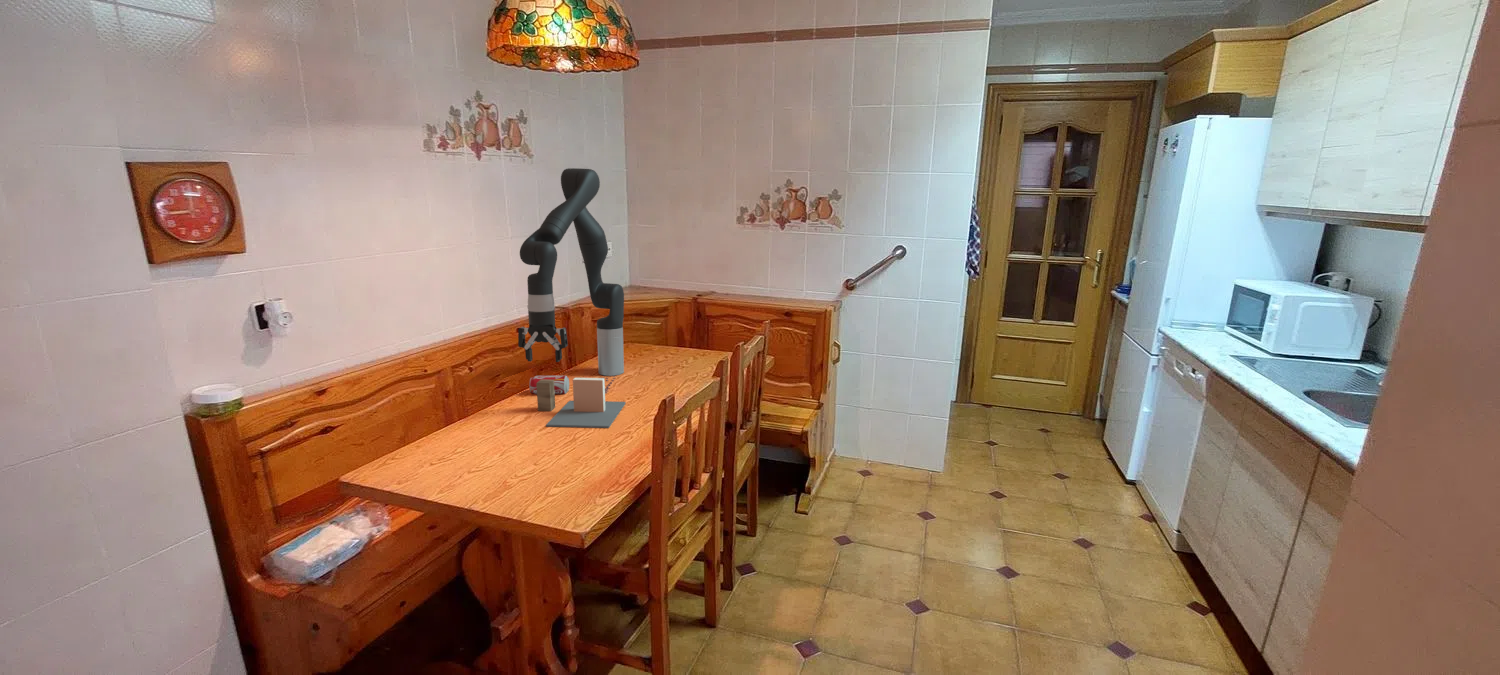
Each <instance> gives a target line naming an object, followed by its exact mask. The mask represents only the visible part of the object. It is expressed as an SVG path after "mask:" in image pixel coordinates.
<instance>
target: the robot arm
mask: <svg viewBox="0 0 1500 675" xmlns="http://www.w3.org/2000/svg"><path fill="white" fill-rule="evenodd" d="M600 183H601V181H600V176H599V175H598V173H597V172H596V171H595V170H594V169H591V168H579V167H578V168H573V167H572V168H571V167H568V168H565V169H564V170H562V172H561V175H560V186H561V191H562V193H563V196H564V199H565V201H563V202H562V203H560V204H559V205H558V206H555V208H553V209H552V210H551V211H550V212H549V213H547V216H546V217H545V219H544V221H543V222H542V223H541V225H540V226H539V228H538V229H536V230H535V231H534V232H533V233H532V234H530V235H529V236H528V237H526V239H525V240H524V241H523V242H522V244H521V246H520V247H519V248H520V249H519V257H520V259H521V261H522V262H523V263H524V264H525V265H529V266H538V271H537V272H535V273H531V274H529V275H528V277H527V314H528V315H527V316H528V327H525V326H521V327H519V328H518V330H517V331H518V332H517V333H518V335H517V337H518V338H517V341H518V345H517V346H518V347H519V348H522V349H524V351H525V360H527V362H532V361H533V348H532V346H533V345H534V344H535V343H549V344H550V345H551V346H552V347H553V348H554V349H555V350H554V354H555V355H554V356H555V362H556V363H559V362H561V360H562V359H563V355H562V354H563V352H562V351H563V350H564V349H565V348H567V347H568V346H569V344H568V334H567V333H568V332H567V328H566V327H562V328H557V327H556V314H555V313H556V310H555V298H554V291H553V289H554V288H553V279H554V278H553V277H554V274H555V269H556V265H557V262H558V261H557V260H558V251H557V249H556V246H555V245H558V244H559V243H560V242H561V241H562V239H563V237H564V236H565V234H566V233H567V231H568V229H569V228H570V226H571V224H572V223H573V226H574V229H575V231H576V239H577V242H578V245H579V250H580V252H581V257H582V260H583V264H584V269H585V272H586V273H585V274H586V277H587V278H586V279H587V282H588V289H589V290H588V291H589V296H590V300H591V303H592V305H593V307H595V308H598V309H603V310H609V312H608V313H609V314H608V315H607V316H604V317H601V318H599V319H597V320H596V340H597V342H596V343H597V364H598V365H597V366H598V369H597V371H598V375H601V376H604V377H606V376H608V377H609V376H611V377H613V376H619V375H623V374H624V373H625V360H624V357H625V356H624V355H625V354H624V352H625V351H624V327H623V325H624V324H623V322H624V314H625V313H624V312H625V309H624V308H625V307H624V306H625V291H624V288H623V287H622V285H621V284H619V283H609V282H607V283H606V282H603V278H602V269H603V265H604V263H605V260H606V258H607V256H608V252H609V247H608V246H609V245H608V241H607V238H606V234H605V231H604V229H603V227H602V226H601V225H600V223H599V222H598V220H596V218H595V217H594V216H593V215H592V214H591V213H590V211H589V210H588V208H587V206H588V205H589V204H590V202H591V201H592V200H593V199H594V198H595V197H596V195H597V194H598V192H599V190H600V186H601V184H600ZM527 334H529V335H530V338H529V339H528V340H527V342H526V335H527ZM556 334H557V335H558V336H559V337H560V341H559V340H558V338H557V337H556V336H555V335H556Z"/></svg>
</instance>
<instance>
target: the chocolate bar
mask: <svg viewBox="0 0 1500 675" xmlns="http://www.w3.org/2000/svg"><path fill="white" fill-rule="evenodd" d="M609 377H613V378H612V379H611V381H610V382H609ZM615 377H616V375H614V376H608V377H605V382H609V384H607V386H605V395H606V394H608V393H609V390H610V389H611V385H612V384H613V382H614V381H615V379H616V378H615Z"/></svg>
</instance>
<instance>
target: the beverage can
mask: <svg viewBox="0 0 1500 675" xmlns="http://www.w3.org/2000/svg"><path fill="white" fill-rule="evenodd" d="M541 379H547V380H554V392H555V395H566V394H567V393H568V392H569V390H570V380H569V379H570V378H569V377H568V376H567V375H535V376H533V377H530V378H529V387H528V388H529V392H530V393H532V394H534V395H537V385H536V383H537V382H538V381H540V380H541Z"/></svg>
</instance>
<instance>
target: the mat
mask: <svg viewBox="0 0 1500 675" xmlns="http://www.w3.org/2000/svg"><path fill="white" fill-rule="evenodd" d="M625 405H626V401H612V400H611V401H606V400H605V411H604V412H580V411H574V400H569V401H567V403H566V404H565V405H563V406H562V408H560V409H559V411H558V412H557V413H556V414H554V416H553V417H552V418H551V419H550V420H549V421H548V422H546V423H545V427H547V428H549V427H551V428H584V429H586V428H587V429H588V428H589V429H590V428H591V429H595V428H597V429H609V428H610V427H611V425H612V424H613V423H614V421H615V420H616V418H617V417H618V415H619V414H620V413H621V411H622V410H623V408H624V407H625Z"/></svg>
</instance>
